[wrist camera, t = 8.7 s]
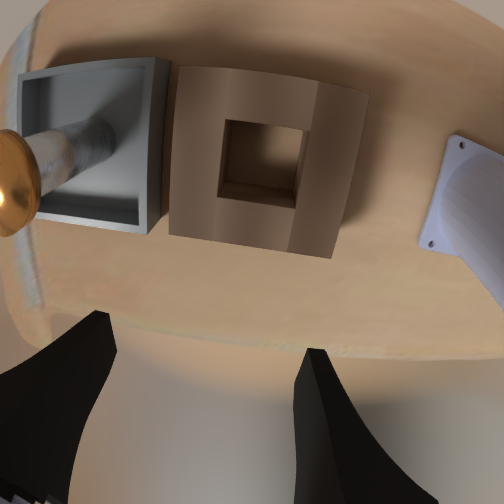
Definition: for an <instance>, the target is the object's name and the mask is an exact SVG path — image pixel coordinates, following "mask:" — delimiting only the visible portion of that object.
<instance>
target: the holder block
mask: <svg viewBox="0 0 504 504" xmlns="http://www.w3.org/2000/svg"><path fill="white" fill-rule="evenodd" d="M369 96H370V93H366V92H362V91H359V90H355V89H351V88H347V87H343V86H338V85H334V84H330V83H325V82H320V81H315V80H310V79H305V78H300V77H294V76H288V75H282V74H275V73H268V72H260V71H252V70H243V69H233V68H220V67H205V66H179V74H178V83H177V92H176V102H175V113H174V125H173V138H172V153H171V171H170V196H169V235H176V236H183V237H190V238H196V239H203V240H210V241H217V242H223V243H230V244H236V245H243V246H250V247H256V248H263V249H270V250H276V251H283V252H289V253H296V254H302V255H309V256H315V257H322V258H328V259H331V257H332V254H333V250H334V247H335V243H336V240H337V236H338V232H339V229H340V225H341V221H342V218H343V214H344V210H345V206H346V202H347V198H348V194H349V190H350V186H351V182H352V178H353V173H354V169H355V165H356V160H357V156H358V151H359V147H360V142H361V137H362V132H363V127H364V122H365V117H366V112H367V107H368V101H369ZM233 120H239V121H247V122H255V123H262V124H269V125H275V126H282V127H288V128H294V129H299V130H304V131H303V137H302V142H301V148H300V153H299V159H298V165H297V170H296V175H295V181H294V186H293V191H289V190H283V189H277V188H271V187H264V186H258V185H251V184H244V183H237V182H229V181H226V173H227V165H228V156H229V147H230V139H231V131H232V122H233Z"/></svg>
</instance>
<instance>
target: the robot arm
mask: <svg viewBox="0 0 504 504" xmlns="http://www.w3.org/2000/svg"><path fill="white" fill-rule="evenodd" d="M461 141H462V143H463V146H462V147H461V148H460V146H459V145H460V142H461ZM430 241H433V242H432V244H430V245H428V244H429V242H430ZM418 245H419V246H420V247H421V248H422V249H425V250H430V251H435V252H440V253H445V254H450V255H454V256H459V257H461V259H462V260H463V261H464V262H465V263H466V264H467V266H468V267H469V268H470V269H471V270H472V272H473V273H474V274H475V275H476V276H477V278H478V279H479V280H480V281H481V283H482V284H483V285H484V286H485V288H486V289H487V290H488V291H489V293H490V294H491V295H492V297H493V298H494V299H495V301H496V302H497V303H498V305H499V306H500V307H501V309H502V310H503V311H504V156H502V155H500V154H498V153H496V152H494V151H492V150H490V149H488V148H486V147H484V146H482V145H479V144H477V143H475V142H473V141H470V140H468V139H466V138H463V137H461V136H459V135H456V134H452V135H451V136H450V137H449V139H448V142H447V146H446V150H445V154H444V158H443V162H442V166H441V170H440V173H439V177H438V180H437V184H436V187H435V190H434V194H433V197H432V200H431V203H430V206H429V210H428V213H427V216H426V219H425V221H424V224H423V227H422V230H421V233H420V236H419V238H418ZM116 353H117V349H116V344H115V339H114V335H113V330H112V326H111V321H110V316H109V313H105V312H101V311H97V310H95V311H93V312H92V313H90V314H89V315H88V316H86V317H85V318H84V319H83V320H81V321H80V322H79V323H77V324H76V325H75V326H73V327H72V328H71V329H70V330H68V331H67V332H66V333H65V334H63V335H62V336H60V337H59V338H58V339H56V340H55V341H54V342H52V343H51V344H49V345H48V346H47V347H45V348H44V349H42V350H41V351H39V352H38V353H37V354H35V355H34V356H32V357H31V358H29V359H27V360H26V361H24V362H23V363H21V364H19V365H17V366H16V367H14V368H12V369H10V370H8V371H6V372H4V373H2V374H0V504H34V503H35V501H37V502H38V503H40V504H44V503H45V501H46V502H48V503H50V504H68V494H69V486H70V480H71V475H72V470H73V465H74V461H75V456H76V453H77V449H78V445H79V442H80V439H81V435H82V432H83V429H84V426H85V423H86V421H87V419H88V416H89V414H90V412H91V410H92V408H93V406H94V404H95V402H96V400H97V398H98V396H99V394H100V392H101V390H102V387H103V385H104V383H105V381H106V379H107V377H108V375H109V373H110V370H111V367H112V365H113V362H114V359H115V356H116ZM293 412H294V428H295V443H296V468H297V469H296V484H295V496H294V504H439V503H438V500H436V499H435V498H434V497H433V496H431V495H430V494H428V493H427V492H426V491H425V490H423V489H422V488H421V487H420V486H418V485H417V484H416V483H415V482H414V481H413V480H412V479H411V478H410V477H409V476H407V475H406V474H405V473H404V472H403V471H402V469H401V468H400V467H399V466H398V465H397V464H396V463H395V462H394V461H393V460H392V459H391V458H390V457H389V455H388V454H387V453H386V452H385V451H384V449H383V448H382V447H381V446H380V444H379V443H378V442H377V441H376V439H375V438H374V437H373V435H372V434H371V432H370V431H369V430H368V428H367V427H366V425H365V424H364V422H363V421H362V419H361V417H360V416H359V414H358V413H357V411H356V409H355V408H354V406H353V404H352V403H351V401H350V399H349V397H348V395H347V393H346V392H345V390H344V388H343V386H342V384H341V382H340V380H339V378H338V376H337V374H336V372H335V370H334V368H333V366H332V364H331V361H330V359H329V357H328V355H327V352H326V351H325V350H324V349H314V348H307V351H306V354H305V356H304V359H303V362H302V365H301V367H300V370H299V372H298V375H297V377H296V380H295V384H294V401H293Z"/></svg>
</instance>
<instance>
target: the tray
mask: <svg viewBox="0 0 504 504" xmlns="http://www.w3.org/2000/svg"><path fill="white" fill-rule="evenodd" d="M170 64H171V61H169V60H165V59H161V58H157V57H141V58H123V59H110V60H100V61H91V62H83V63H76V64H69V65H63V66H57V67H51V68H46V69H41V70H36V71H32V72H27V73H23V74H19V75H18V87H17V133H18V134H20V135H21V136H22V137H23V138H25V137H28V136H31V135H34V134H37V133H41V132H44V131H47V130H50V129H54V128H57V127H61V126H64V125H68V124H71V123H75V122H79V121H83V120H87V119H91V118H101V119H104V120H106V121H107V122H108V123H109V124H110V125H111V127H112V128H113V130H114V133H115V138H116V143H115V149H114V151H113V153H112V155H111V156H110V158H109V159H108V160H106V161H105V162H103V163H101V164H99V165H97V166H95V167H93V168H91V169H89V170H87V171H85V172H84V173H82V174H80V175H78V176H76V177H74V178H73V179H71V180H69V181H67V182H65V183H64V184H62V185H60V186H58V187H57V188H55V189H53V190H52V191H50V192H48V193H47V194H45V195H43V196H42V197H41V201H40V205H39V208H38V211H37V213H36V215H35V217H34V218H38V219H45V220H52V221H58V222H65V223H72V224H79V225H85V226H92V227H99V228H105V229H112V230H119V231H125V232H132V233H139V234H145V235H147V234H148V233H149V232H150V231H151V229H152V228H153V227H154V226H155V225H156V223H157V222H158V221H159V220H160V219H161V187H162V160H163V142H164V127H165V114H166V102H167V92H168V82H169V73H170Z"/></svg>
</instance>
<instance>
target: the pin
mask: <svg viewBox="0 0 504 504" xmlns="http://www.w3.org/2000/svg"><path fill="white" fill-rule="evenodd" d="M115 143H116V138H115V133H114V130H113V128H112V127H111V125H110V124H109V123H108V122H107V121H106V120H104V119H101V118H91V119H87V120H83V121H79V122H75V123H71V124H68V125H64V126H61V127H57V128H54V129H50V130H47V131H44V132H41V133H37V134H34V135H31V136H28V137H25V138H23V137H22V136H21V135H20V134H18V133H17V132H15V131H12V130H9V129H3V130H0V236H2V237H8V236H11V235H13V234H15V233H16V232H17V231H19V230H20V229H21V228H23V227H24V226H25V225H27V224H28V223H29V222H31V221H32V220H33V218H34V217H35V215H36V213H37V211H38V208H39V205H40V201H41V197H42V196H43V195H45V194H47V193H48V192H50V191H52V190H53V189H55V188H57V187H58V186H60V185H62V184H64V183H65V182H67V181H69V180H71V179H73V178H74V177H76V176H78V175H80V174H82V173H84V172H85V171H87V170H89V169H91V168H93V167H95V166H97V165H99V164H101V163H103V162H105V161H106V160H108V159H109V158H110V156H111V155H112V153H113V151H114V149H115Z"/></svg>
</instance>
